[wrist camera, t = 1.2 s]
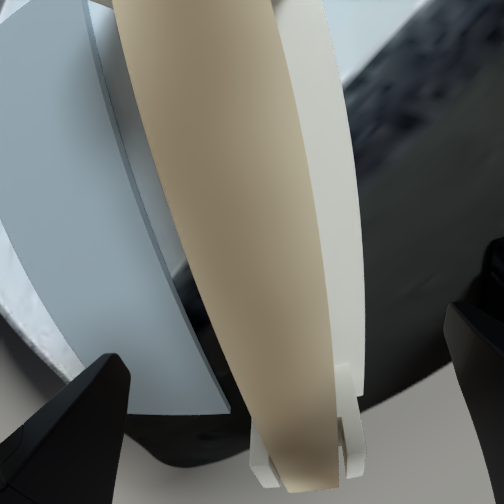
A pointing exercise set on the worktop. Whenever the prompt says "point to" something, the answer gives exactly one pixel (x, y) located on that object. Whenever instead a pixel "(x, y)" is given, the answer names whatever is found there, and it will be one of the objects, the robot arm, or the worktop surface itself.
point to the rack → (326, 218)
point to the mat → (89, 214)
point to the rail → (243, 211)
